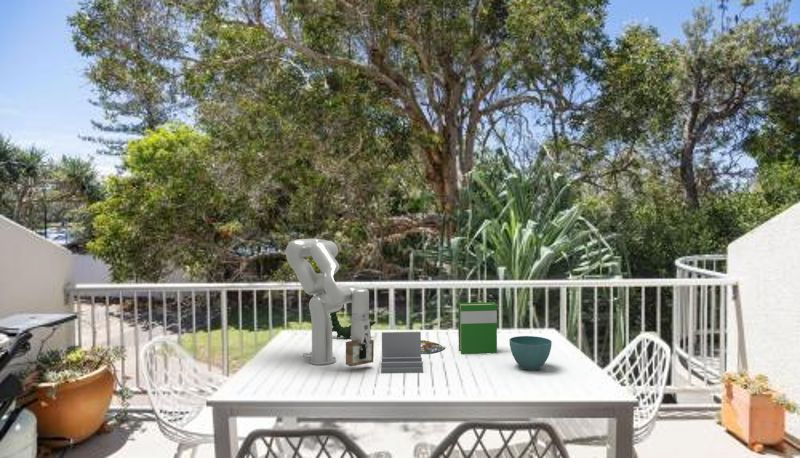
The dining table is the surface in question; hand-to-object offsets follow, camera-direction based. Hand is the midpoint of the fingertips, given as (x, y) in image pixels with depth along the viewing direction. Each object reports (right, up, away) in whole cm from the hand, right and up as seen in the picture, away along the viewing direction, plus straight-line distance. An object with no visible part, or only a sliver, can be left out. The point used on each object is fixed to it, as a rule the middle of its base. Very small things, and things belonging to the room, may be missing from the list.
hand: (359, 356), depth 245 cm
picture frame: (0, -3, 0) cm, 3 cm away
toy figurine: (-8, -4, +62) cm, 62 cm away
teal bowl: (+76, -5, 0) cm, 76 cm away
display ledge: (+19, -5, +3) cm, 20 cm away
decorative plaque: (+26, -5, +39) cm, 47 cm away
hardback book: (+56, -4, +28) cm, 63 cm away
